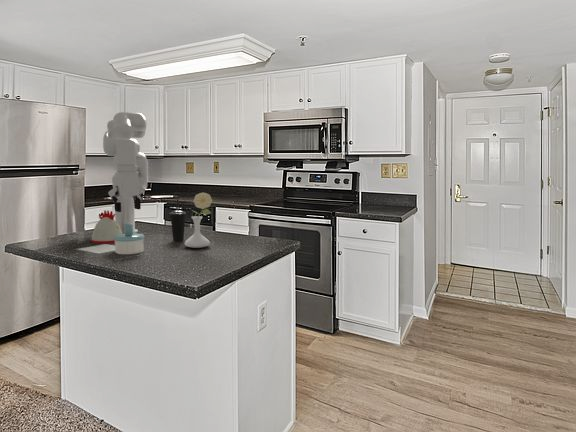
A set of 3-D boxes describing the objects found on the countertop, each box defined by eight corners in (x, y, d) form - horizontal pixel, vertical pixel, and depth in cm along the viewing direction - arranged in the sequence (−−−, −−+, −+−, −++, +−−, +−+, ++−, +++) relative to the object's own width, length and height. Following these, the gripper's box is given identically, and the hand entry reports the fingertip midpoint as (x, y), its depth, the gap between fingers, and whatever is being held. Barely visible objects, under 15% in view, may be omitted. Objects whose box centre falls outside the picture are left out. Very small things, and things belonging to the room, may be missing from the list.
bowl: (109, 253, 177) (109, 239, 176) (131, 248, 186) (131, 235, 186) (127, 256, 171) (126, 242, 171) (148, 251, 181) (148, 238, 180)
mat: (76, 250, 181) (76, 249, 181) (105, 245, 193) (105, 243, 193) (98, 255, 174) (98, 253, 174) (127, 249, 186) (127, 247, 185)
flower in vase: (180, 249, 188) (179, 192, 184) (190, 244, 199) (189, 190, 195) (208, 250, 185) (207, 193, 182) (217, 245, 196) (216, 191, 193)
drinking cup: (177, 242, 201) (176, 200, 199) (167, 240, 206) (166, 199, 203) (189, 240, 207) (189, 199, 205) (179, 238, 212) (178, 198, 209)
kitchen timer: (112, 245, 193) (110, 212, 192) (85, 243, 196) (83, 211, 194) (129, 239, 207) (128, 209, 205) (103, 238, 210) (102, 208, 208)
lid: (107, 239, 176) (106, 224, 175) (131, 235, 186) (130, 221, 185) (126, 242, 170) (126, 227, 169) (150, 237, 180) (149, 223, 179)
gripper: (137, 168, 184) (138, 207, 186) (102, 169, 169) (104, 211, 172) (149, 169, 180) (150, 209, 182) (114, 170, 165) (116, 213, 168)
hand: (128, 210), depth 177 cm, fingers open, 9 cm apart
